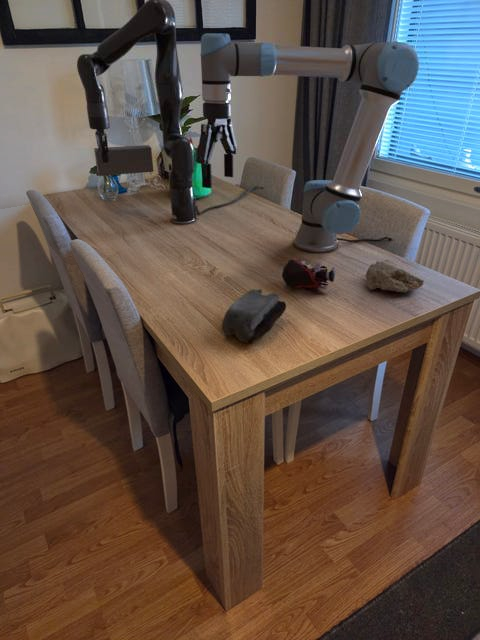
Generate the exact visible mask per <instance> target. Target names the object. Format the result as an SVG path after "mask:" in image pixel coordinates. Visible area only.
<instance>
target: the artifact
mask: <svg viewBox="0 0 480 640" xmlns="http://www.w3.org/2000/svg"><path fill="white" fill-rule="evenodd" d="M365 278H366V287H368V288H369V290H370V291H373V290H376V289H381V291H392V292H397V293H408V292H409V291H416V290H417V289H419V288H421V287H422V286H423V285H424V280H423V279H421V278H419V277H417V276H415V275H413V274H411V273H409V272H408V271H406V270H404V269H401V267H400V266H398V265H397V264H395V262H393V260H391V259H384V260H382V261H376V262H375V263H371V264H370V265H369V266H368V268H367V271H366V273H365Z"/></svg>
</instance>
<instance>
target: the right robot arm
mask: <svg viewBox="0 0 480 640" xmlns="http://www.w3.org/2000/svg"><path fill="white" fill-rule="evenodd" d="M199 56H200V66H201V68H200V69H201V71H200V72H201V96H202V101H204V102H202V116H203V118H204V119H206V120H207V123H201V125H200V135H199V140H198V141H199V142H198V145H199V146H198V145H197V147H198V152H197V157H196V162H197V163H199V164H201V172H202V187H204V188H211V189H212V188H213V180H212V178H213V177H212V176H213V175H212V164H211V163H210V162H211V159H212V157H213V156H212V155H213V153H214V149H215V146H216V143H218V141H220V143H221V145H222V148H223V150H224V152H225V153H224V154H223V173H224V174H223V175H224V177H225V178H234V155H237V153H238V151H237V150H238V146H237V141H236V136H235V132H234V128H233V120H232V118H231V116H232V115H231V113H232V112H231V111H232V109H231V106H232V105H231V103H230V102H229V101H231V92H232V88H231V77H260V78H263V77H270V76H287V77H288V76H289V77H291V76H292V77H313V78H332V79H333V78H334V79H338V81H339V82H341V83H342V82H343V83H351V84H357V85H360V87H359V90H358V92H359V94H360V96H361V100H360V104H359V106H358V109H357V112H356V114H355V117H354V120H353V123H352V126H351V129H350V132H349V134H348V137H347V140H346V143H345V146H344V149H343V152H342V154H341V157H340V160H339V163H338V165H337V168H336V172H335V174H334V177H333V180H330V179H318V180H317V179H315V180H309V181H307V182H305V184H304V188H303V193H302V194H303V197H302V211H301V223H300V226H299V228H298V230H296V231H295V238H294V245H295V246H296V247H297V248H298V249H300V250H302V251H305V252H310V253H328V252H331V251H334V250H335V249H337V246H338V241H342V242H347V243H357V242H382V241H384V240H389V241H393V239H392V237H390V238H388V237H389V236H383V237H381V238H357V239H347V238H342V237H337V235H339V236H340V235H345V234H347V233H349V232H351V231H353V230H354V229H355V228H356V226H357V225H358V224H359V223H360V219H361V215H362V212H361V208H360V206H359V204H360V202H361V199H362V198H363V197H362V196H363V194H362V192H361V186H362V183H363V181H364V177H365V175H366V173H367V170H368V167H369V164H370V162H371V161H372V160H371V159H372V157H373V154H374V153H375V150H376V146H377V144H378V141H379V139H380V136H381V133H382V131H383V128H384V126H385V123H386V121H387V118H388V115H389V113H390V110H391V108H392V107H393V106H394V105H396V104H398V103H399V102H400V99H401V97H402V94H403V92H404V91H406V90H407V89H408V88H410V87H411V86H412V85H413V83H414V82H415V81H416V78H417V76H418V73H419V69H420V68H419V67H420V63H419V62H420V61H419V57H418V53H417V52H416V50H415V49H414V47H413V46H411V45H410V44H409V43H406V42H402V41H397V40H393V41H375V42H370V43H369V42H368V43H364V44H363V43H362V44H345V45H344V46H342V48H340V47H339V48H338V47H318V46H302V45H301V46H300V45H299V46H298V45H285V44H280V45H279V44H273V43H268V42H232V40H231V35H230V34H229V33H203V34H202V36H201V37H200V55H199ZM200 157H201V158H200Z"/></svg>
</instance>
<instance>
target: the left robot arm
mask: <svg viewBox="0 0 480 640" xmlns="http://www.w3.org/2000/svg"><path fill="white" fill-rule="evenodd" d="M176 24H177V23H176V14H175V10H174V8H173V6H172V5H171V3H170V2H169V1H168V0H147V1H146V2H145V3H144V4H143V5H142V6H141V7H140V8H138V10H137V11H136V13H135V14H134V15H132V17H131V18H130V19H129V20H128V21H127V22H126V23H125V24H124V25H123V26H121V27H120V28H119V29H118V30H116V31H114V33H112V34H111V35H109V36H108V37H106V38H105V39H104V40H103V41H102V42H100V43H99V45H98V46H97V47H96V51H94V52H93V53H82V54H80V55H79V56H78V57H77V61H76V69H77V74H78V76H79V78H80V81H81V84H82V87H83V90H84V95H85V101H86V112H87V120H88V125H89V129H91V130H94V131H95V133H94V135H95V139H96V144H97V145H96V146H97V148H101V153H102V159H103V162H104V163H108V162H109V160H108V153H107V152H108V151H109V150H108V147H109V143H108V134H107V133H106V132H105V130H108V129H110V127H111V124H110V118H109V110H108V105H107V101H106V91H105V88H104V86H103V84H100V83H99V81H98V78H97V77H99V76H101V75H103V74H104V73H106V72H107V70H109V69H110V68H111V66H112V65H113V64H115V63H116V62H118V61H119V60H120V59H121V58H123V57H124V56H126V55H127V54H128V53H129V52H130V51H131V50H132V48H133V47H135V45H136V44H138V43H139V42H140V41H141V40H142V39H144V38H147V37H148V36H151V35H153V34H154V39H155V45H156V59H155V67H154V83H155V89H156V96H157V102H158V108H159V113H160V118H161V126H162V127H161V128H162V145H163V150H164V153H165V155H166V156H167V157H168V158H169V159H171V169H170V170H169V172H168V182H169V189H170V193H169V195H170V196H169V197H170V206H171V207H170V208H171V209H170V210H171V222H172V223H174V224H177V225H188V224H192V223H194V222H195V221H196V220H197V215H202V214H204V213H206V212H207V211H209V210H212V209H217V208H222V207H224V206H228V205H231V204H233V203H236V202H238V201H239V200H241V199H243V198H244V197H245V196H246V195H247V194H249V192H251V191H253V190H255V189H257V188H261V189H264V186H263V187H259V185H255V186H254V187H251V188H249V189H247V190H246V192H244V193H243V194H242V195H241V196H239V197H237V198H235V199H234V200H232V201H229V202H225V203H222V204H219V205H214V206H210V207H206V208H205V209H204V210H202V211H201V212H200V211H199V208H198V207H199V206H198V205H196V199H195V197H194V196H193V181H192V174H193V171H194V152H193V146H192V143H191V141H190V138H188V137H185V136H183V132H182V125H181V111H182V107H183V98H184V93H183V84H182V76H181V70H180V62H179V56H178V55H179V54H178V49H177V30H176V29H177V28H176V26H177V25H176Z"/></svg>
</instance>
